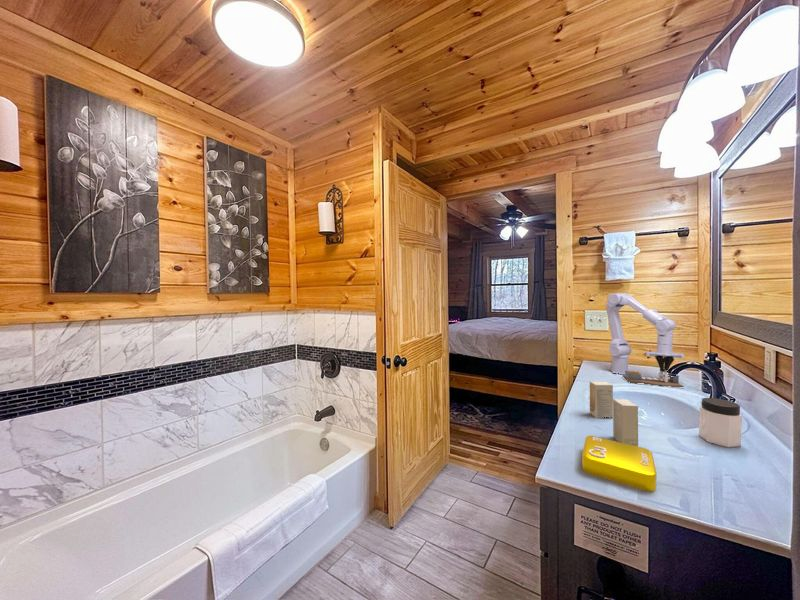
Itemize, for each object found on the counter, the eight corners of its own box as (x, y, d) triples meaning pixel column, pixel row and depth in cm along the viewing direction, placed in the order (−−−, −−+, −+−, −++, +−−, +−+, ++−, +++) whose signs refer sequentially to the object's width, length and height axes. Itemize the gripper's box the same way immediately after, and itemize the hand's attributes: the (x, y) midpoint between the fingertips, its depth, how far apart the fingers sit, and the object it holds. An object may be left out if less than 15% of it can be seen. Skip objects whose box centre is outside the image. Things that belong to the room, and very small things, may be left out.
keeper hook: (656, 379, 155) (656, 371, 155) (674, 381, 152) (674, 372, 152) (660, 382, 151) (660, 373, 151) (678, 383, 148) (678, 375, 148)
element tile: (657, 495, 71) (657, 475, 70) (581, 473, 79) (581, 454, 79) (651, 464, 83) (651, 447, 83) (585, 448, 91) (586, 432, 91)
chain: (637, 377, 159) (638, 365, 158) (662, 379, 155) (662, 367, 155) (642, 380, 153) (642, 368, 153) (667, 382, 149) (668, 370, 149)
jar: (694, 432, 101) (695, 395, 100) (726, 436, 98) (728, 398, 97) (710, 445, 92) (711, 405, 92) (746, 450, 89) (748, 409, 89)
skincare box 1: (606, 413, 116) (607, 381, 115) (613, 418, 111) (614, 384, 111) (588, 413, 116) (589, 380, 116) (594, 417, 112) (595, 384, 111)
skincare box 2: (638, 447, 91) (639, 406, 91) (621, 445, 92) (622, 405, 92) (627, 437, 97) (628, 399, 97) (611, 435, 98) (612, 398, 98)
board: (622, 376, 163) (622, 375, 163) (672, 381, 156) (672, 379, 156) (629, 383, 152) (629, 381, 152) (683, 388, 145) (683, 386, 145)
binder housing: (625, 376, 160) (625, 369, 160) (637, 377, 158) (637, 370, 158) (628, 379, 155) (628, 372, 155) (640, 380, 153) (641, 373, 153)
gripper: (649, 344, 150) (648, 372, 151) (687, 346, 145) (686, 375, 146) (644, 342, 157) (643, 368, 158) (680, 343, 152) (679, 371, 152)
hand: (663, 371), depth 152 cm, fingers closed on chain
